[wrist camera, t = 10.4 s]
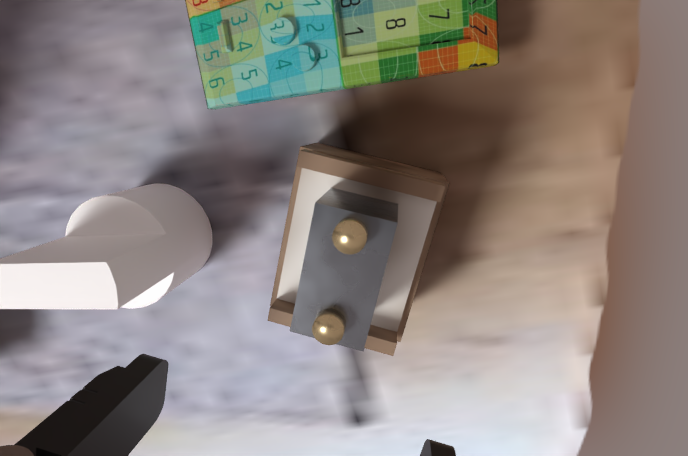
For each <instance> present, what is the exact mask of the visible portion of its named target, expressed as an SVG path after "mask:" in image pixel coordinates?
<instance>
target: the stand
mask: <svg viewBox="0 0 688 456" xmlns="http://www.w3.org/2000/svg"><path fill="white" fill-rule="evenodd" d="M448 186H449V182H448V181H447V180H446V179H445V177H444V176H443V175H442V174H441V173H440V172H435V171H431V170H427V169H423V168H419V167H415V166H411V165H407V164H403V163H399V162H395V161H390V160H386V159H382V158H378V157H374V156H370V155H366V154H362V153H358V152H354V151H350V150H345V149H341V148H337V147H333V146H329V145H325V144H321V143H314V144H309V145H305V146H301V147H300V150H299V155H298V161H297V166H296V171H295V177H294V182H293V187H292V192H291V198H290V203H289V208H288V214H287V219H286V224H285V229H284V235H283V240H282V245H281V251H280V256H279V261H278V266H277V272H276V277H275V282H274V288H273V293H272V298H271V304H270V306H271V307H270V310H269V316H268V321H271V322H275V323H278V324H282V325H285V326H289V327H291V322H292V317H293V312H294V307H295V302H296V297H297V292H298V287H299V281H300V276H301V271H302V266H303V261H304V256H305V251H306V246H307V241H308V236H309V231H310V226H311V221H312V216H313V211H314V206H315V202H316V201H317V200H318V199H319V198H321V197H322V196H323V195H324V194H325V193H326V192H327V191H328V190H329V189H330V188H335V189H340V190H344V191H348V192H352V193H356V194H360V195H364V196H368V197H373V198H377V199H381V200H385V201H389V202H393V203H397V204H398V224H397V227H396V231H395V235H394V239H393V242H392V246H391V250H390V253H389V257H388V261H387V265H386V268H385V272H384V276H383V280H382V283H381V287H380V291H379V295H378V298H377V302H376V306H375V310H374V313H373V317H372V321H371V325H370V328H369V332H368V336H367V340H366V343H365V347H364V348H367V349H370V350H374V351H377V352H381V353H384V354H388V355H391V356H393V355H394V351H395V348H396V345H397V341H398V342H400V341H401V338H402V335H403V332H404V328H405V325H406V322H407V319H408V316H409V312H410V309H411V306H412V303H413V299H414V296H415V293H416V290H417V286H418V283H419V280H420V277H421V274H422V270H423V267H424V264H425V261H426V257H427V254H428V251H429V248H430V245H431V241H432V238H433V235H434V232H435V228H436V225H437V222H438V219H439V215H440V212H441V209H442V206H443V203H444V199H445V196H446V193H447V190H448Z"/></svg>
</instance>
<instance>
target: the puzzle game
mask: <svg viewBox="0 0 688 456" xmlns="http://www.w3.org/2000/svg"><path fill="white" fill-rule="evenodd" d="M185 2H186V7H187V12H188V17H189V21H190V26H191V31H192V36H193V41H194V45H195V50H196V55H197V60H198V65H199V69H200V74H201V79H202V84H203V89H204V93H205V98H206V103H207V108H208V109H220V108H227V107H233V106H240V105H246V104H252V103H259V102H265V101H272V100H278V99H285V98H291V97H297V96H304V95H310V94H317V93H323V92H330V91H336V90H342V89H349V88H355V87H362V86H368V85H374V84H381V83H387V82H394V81H400V80H407V79H413V78H419V77H426V76H432V75H439V74H445V73H452V72H458V71H464V70H471V69H477V68H484V67H489V66H495V65H497V64H498V63H499V44H498V13H497V0H185Z"/></svg>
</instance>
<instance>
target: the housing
mask: <svg viewBox="0 0 688 456" xmlns="http://www.w3.org/2000/svg"><path fill="white" fill-rule="evenodd" d="M397 224H398V204H397V203H393V202H389V201H385V200H381V199H377V198H373V197H368V196H364V195H360V194H356V193H352V192H348V191H344V190H340V189H335V188H330V189H329V190H328V191H327V192H326V193H325V194H324V195H323V196H322V197H321V198H319V199H318V200H317V201H316V202H315V206H314V211H313V216H312V221H311V226H310V231H309V236H308V241H307V246H306V251H305V256H304V261H303V266H302V271H301V276H300V281H299V287H298V292H297V297H296V302H295V307H294V312H293V317H292V322H291V327H290V331H291V332H294V333H298V334H302V335H305V336H309V337H313V338H316V340H317V341H319V342H320V343H322V344H325V345H333V344H338V345H342V346H345V347H349V348H353V349H356V350H360V351H364V347H365V343H366V340H367V336H368V332H369V328H370V325H371V321H372V317H373V313H374V310H375V306H376V302H377V298H378V295H379V291H380V287H381V283H382V280H383V276H384V272H385V268H386V265H387V261H388V257H389V253H390V250H391V246H392V242H393V239H394V235H395V231H396V227H397Z"/></svg>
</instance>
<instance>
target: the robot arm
mask: <svg viewBox="0 0 688 456" xmlns="http://www.w3.org/2000/svg"><path fill="white" fill-rule="evenodd" d="M167 373H168V362H167V361H166V360H163V359H159V358H156V357H153V356H149V355H146V354H141V355H139V356H138V357H137V358H136V359H135V360H133V361H132V362H131V363H130V364H129V365H128V366H127V367H126V368H123V367H120V366H117V367H114V368H112V369H110V370H108V371H106V372H104V373H101V374H99V375H98V376H97V377H95V378H94V379H93V380H92V381H91V382H89V383H88V384H87V385H86V386H85V387H83V390H80V391H79V392H77V393H76V394H75V395H74V396H73V397H71V399H70V401H67V402H65V403H64V404H63V405H62V406H61V407H59V408H58V409H57V410H56V411H55V412H53V413H52V414H51V415H50V416H49V417H47V418H46V419H45V420H44V421H43V422H41V423H40V424H39V425H38V426H37V427H35V428H34V429H33V430H32V431H31V432H29V433H28V434H27V435H26V436H25V437H23V438H22V439H21V440H20V441H19V442H17V443H16V444H15V445H6V446H0V456H128V455H129V453H130V452H131V451H132V450H133V449H134V447H135V446H136V445H137V444H138V442H139V441H140V440H141V439H142V438H143V436H144V435H145V434H146V433H147V432H148V430H149V429H150V428H151V427H152V425H153V424H154V423H155V421H156V420H157V418H158V417H159V415H160V413H161V410H162V408H163V404H164V400H165V391H166V382H167ZM420 456H456V454H455V450H454V448H453V447H452V446H449V445H446V444H442V443H439V442H436V441H432V440H429V439H427V440H426V441H425V443H424V446H423V449H422V452H421V454H420Z"/></svg>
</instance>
